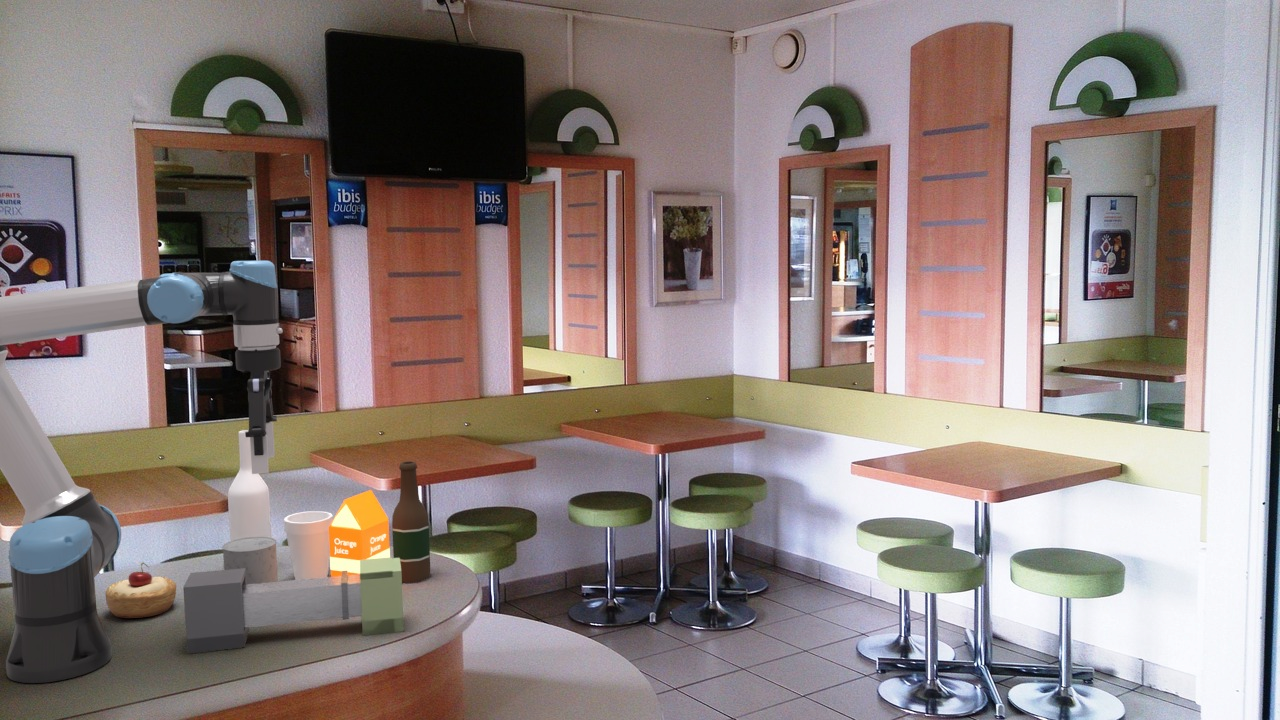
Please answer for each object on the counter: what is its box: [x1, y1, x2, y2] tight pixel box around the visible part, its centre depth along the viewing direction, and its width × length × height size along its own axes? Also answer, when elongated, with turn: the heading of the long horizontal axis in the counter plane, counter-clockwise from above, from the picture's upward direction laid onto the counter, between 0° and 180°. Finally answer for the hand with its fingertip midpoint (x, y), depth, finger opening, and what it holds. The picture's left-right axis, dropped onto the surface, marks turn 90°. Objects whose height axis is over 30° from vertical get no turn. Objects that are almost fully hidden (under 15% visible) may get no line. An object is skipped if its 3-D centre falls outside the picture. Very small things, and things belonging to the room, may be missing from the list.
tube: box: [242, 571, 362, 628], centre depth 184 cm, size 25×7×7 cm, turn 105°
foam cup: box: [283, 510, 334, 580], centre depth 213 cm, size 10×9×13 cm
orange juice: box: [329, 489, 391, 577], centre depth 203 cm, size 8×9×20 cm
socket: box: [360, 556, 405, 636], centre depth 187 cm, size 7×8×11 cm
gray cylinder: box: [221, 537, 279, 584], centre depth 197 cm, size 10×10×12 cm
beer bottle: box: [391, 460, 431, 584], centre depth 213 cm, size 8×8×24 cm
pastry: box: [104, 562, 177, 619], centre depth 196 cm, size 12×12×9 cm
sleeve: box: [182, 568, 250, 655], centre depth 180 cm, size 9×8×12 cm
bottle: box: [227, 429, 273, 542], centre depth 217 cm, size 8×8×30 cm
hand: (263, 465), depth 188 cm, fingers open, 13 cm apart
